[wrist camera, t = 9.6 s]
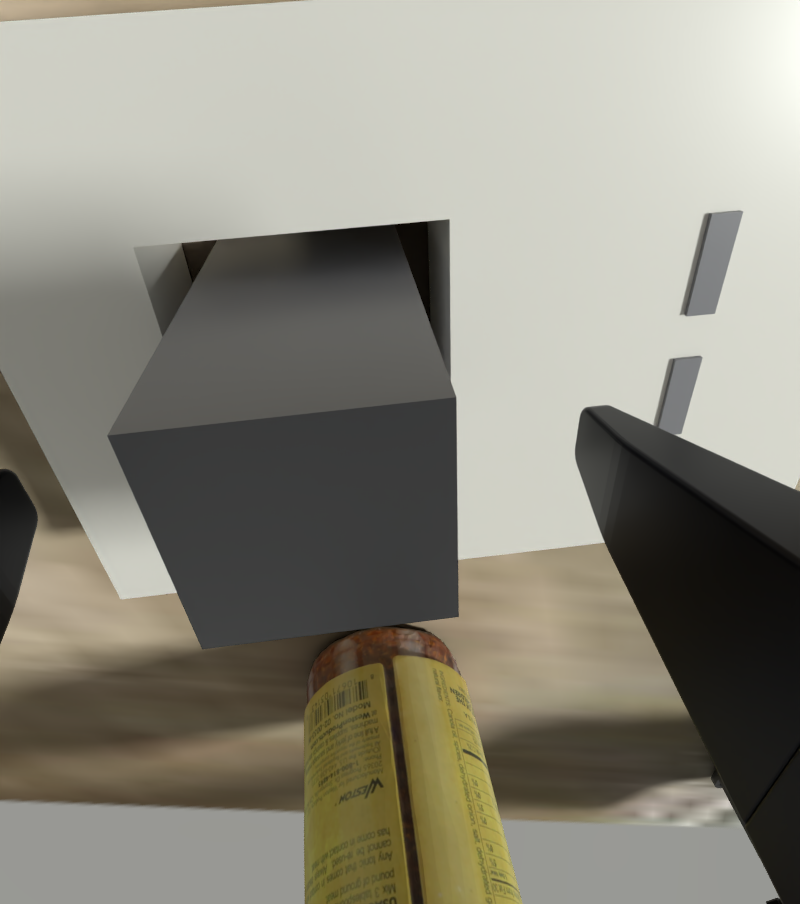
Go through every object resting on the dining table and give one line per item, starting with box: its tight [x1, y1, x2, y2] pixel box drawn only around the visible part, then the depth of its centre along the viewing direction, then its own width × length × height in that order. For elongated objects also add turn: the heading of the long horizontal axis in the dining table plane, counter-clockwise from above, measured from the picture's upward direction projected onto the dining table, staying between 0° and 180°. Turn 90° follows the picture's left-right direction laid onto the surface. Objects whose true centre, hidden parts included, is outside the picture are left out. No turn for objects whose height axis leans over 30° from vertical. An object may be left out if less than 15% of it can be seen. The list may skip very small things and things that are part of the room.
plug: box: [107, 224, 459, 649], centre depth 11 cm, size 4×4×8 cm
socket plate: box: [0, 0, 800, 599], centre depth 13 cm, size 18×12×3 cm, turn 93°
